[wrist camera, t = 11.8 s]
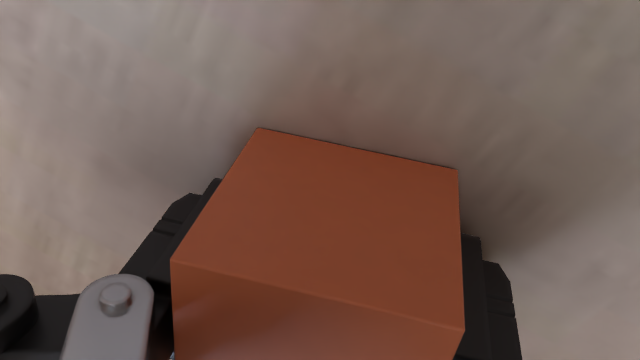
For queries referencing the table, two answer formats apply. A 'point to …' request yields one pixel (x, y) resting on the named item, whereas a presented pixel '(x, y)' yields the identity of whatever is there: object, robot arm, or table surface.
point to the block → (321, 258)
